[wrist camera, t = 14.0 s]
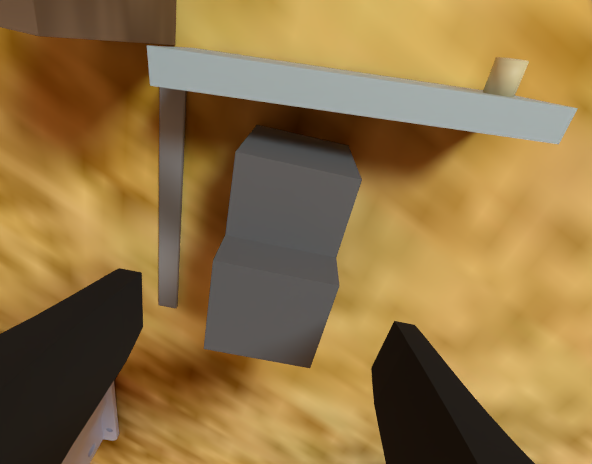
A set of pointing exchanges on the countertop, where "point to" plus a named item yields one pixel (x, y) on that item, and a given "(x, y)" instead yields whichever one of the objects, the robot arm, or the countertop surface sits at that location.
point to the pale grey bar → (366, 92)
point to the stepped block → (280, 246)
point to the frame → (160, 30)
